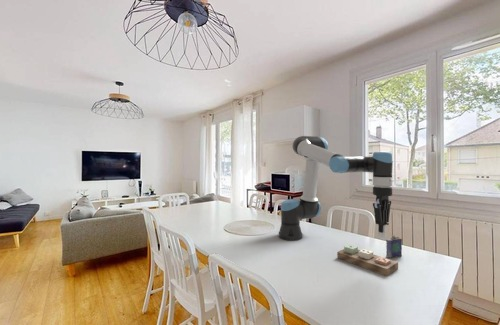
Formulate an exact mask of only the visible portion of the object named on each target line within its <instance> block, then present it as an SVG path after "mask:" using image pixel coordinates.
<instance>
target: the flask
mask: <svg viewBox="0 0 500 325" xmlns="http://www.w3.org/2000/svg"><path fill="white" fill-rule="evenodd" d="M385 241H386V245H385V246H386V254H385V255H386V256H385V257H386V258H387V259H393V258H398V257H399V258H400V257H402V256H403V255H402V251H403V250H402V249H403V247H402V246H403V245H402V242H403V238H401V237H398V236H396V235H395V234H391V237H390V238H386V240H385Z"/></svg>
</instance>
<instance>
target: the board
mask: <svg viewBox="0 0 500 325" xmlns="http://www.w3.org/2000/svg"><path fill="white" fill-rule="evenodd" d="M359 251H360V249H358V252H357V253H355V254H350V253H347V252H344V248H343V249H342V250H338V251H337V254H336V256H337V259H339V260H342V261H344V262H348V263H350V264H353V265H355V266H358V267H361V268H363V269H366V270H369V271H371V272H375V273H378V274H379V275H382V276H386V277H388V276H389V275H391V274H392V273H394V272H395V271H397V270H398V269H399V261H395V260H392V259H391V258H388V257H382V256H379V255H377V254H374V253H373V258H371V259H369V260H368V259H365V258H362V257H359ZM379 257H382V258H385V259H389V260H391V264H389V265H387V266H385V265H382V264H379V263H376V262H375V259H377V258H379Z"/></svg>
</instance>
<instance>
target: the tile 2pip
mask: <svg viewBox="0 0 500 325" xmlns="http://www.w3.org/2000/svg"><path fill="white" fill-rule="evenodd" d="M359 250H360V249H359ZM373 254H374V251H371V250H368V249H365V248H362V249H361V250H360V251H359V257H362V258H365V259H368V260H369V259H371V258H373Z"/></svg>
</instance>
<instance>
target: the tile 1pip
mask: <svg viewBox="0 0 500 325" xmlns="http://www.w3.org/2000/svg"><path fill="white" fill-rule="evenodd" d="M343 249H344V252H347V253H350V254H355V253H357V252H358V250H359V249H358V246H355V245H352V244H347V245H345V246H344V247H343Z"/></svg>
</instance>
